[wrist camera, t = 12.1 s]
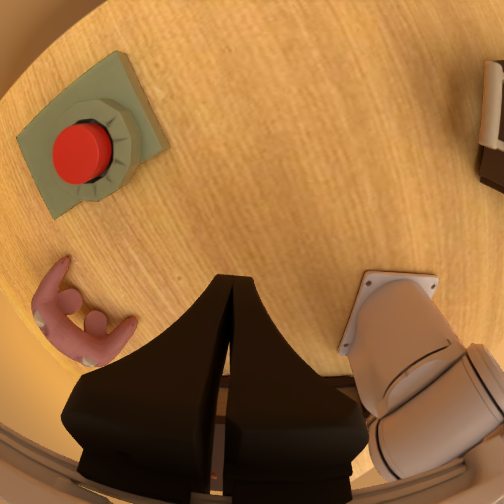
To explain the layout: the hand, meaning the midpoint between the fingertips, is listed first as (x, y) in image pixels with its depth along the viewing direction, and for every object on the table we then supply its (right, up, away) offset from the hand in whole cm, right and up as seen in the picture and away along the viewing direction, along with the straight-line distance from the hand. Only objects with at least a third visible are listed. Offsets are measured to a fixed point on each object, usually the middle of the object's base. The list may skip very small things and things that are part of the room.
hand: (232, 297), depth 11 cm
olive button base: (-11, +10, +7) cm, 17 cm away
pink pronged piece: (-15, -3, +14) cm, 20 cm away
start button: (-9, +8, +4) cm, 13 cm away
